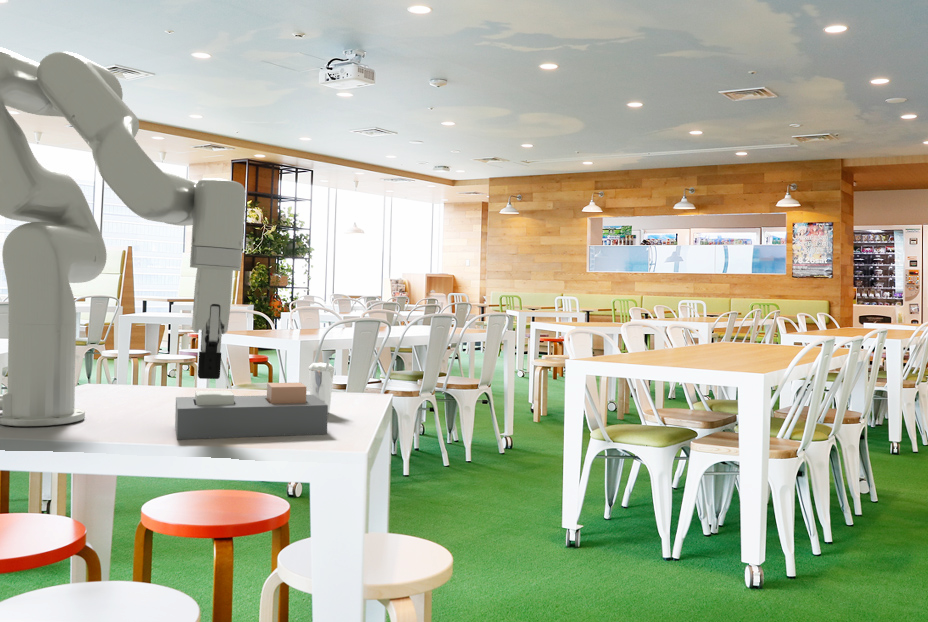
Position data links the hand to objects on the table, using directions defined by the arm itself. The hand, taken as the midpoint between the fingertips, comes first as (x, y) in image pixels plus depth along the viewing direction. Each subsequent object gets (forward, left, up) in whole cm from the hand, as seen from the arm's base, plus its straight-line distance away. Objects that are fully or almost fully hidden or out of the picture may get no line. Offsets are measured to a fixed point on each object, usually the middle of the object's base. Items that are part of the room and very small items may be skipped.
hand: (208, 377), depth 123 cm
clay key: (+12, 0, -5) cm, 13 cm away
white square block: (+1, 0, -6) cm, 6 cm away
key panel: (+6, 0, -8) cm, 10 cm away
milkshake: (+20, +14, -8) cm, 26 cm away
